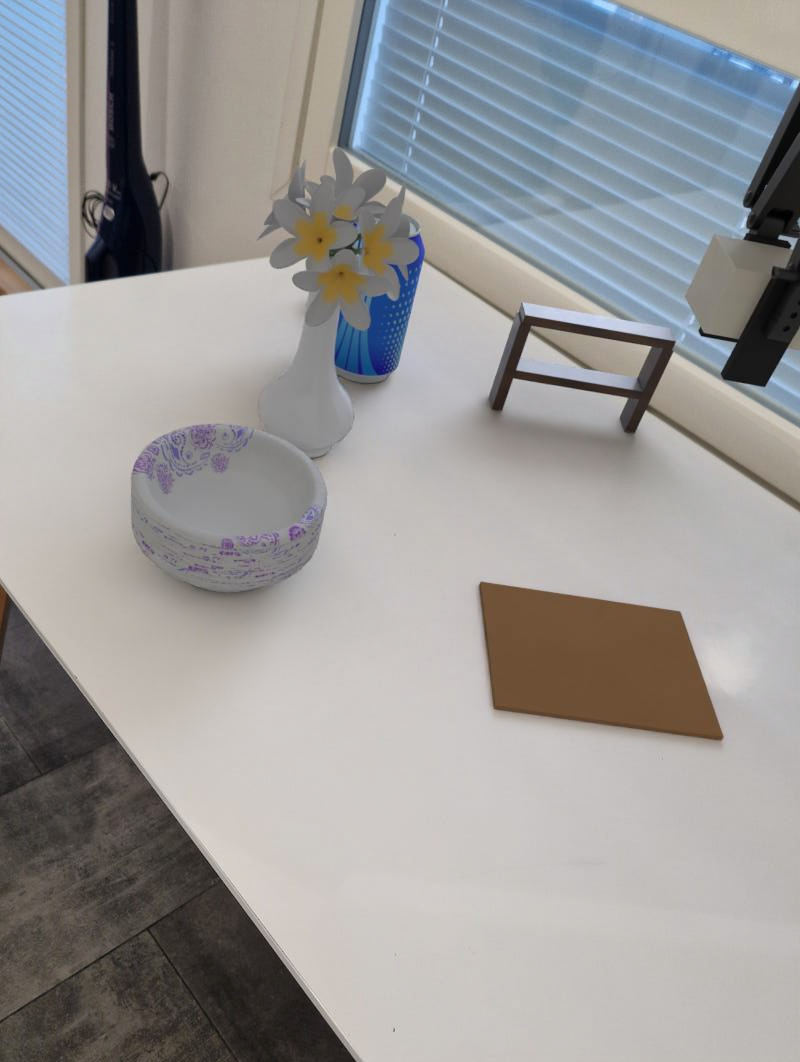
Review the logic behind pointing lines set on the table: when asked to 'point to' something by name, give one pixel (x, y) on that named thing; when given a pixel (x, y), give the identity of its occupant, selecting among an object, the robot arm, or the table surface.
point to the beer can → (379, 325)
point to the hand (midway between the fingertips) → (730, 357)
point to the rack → (579, 378)
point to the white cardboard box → (733, 284)
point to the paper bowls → (226, 506)
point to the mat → (594, 661)
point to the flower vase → (331, 292)
